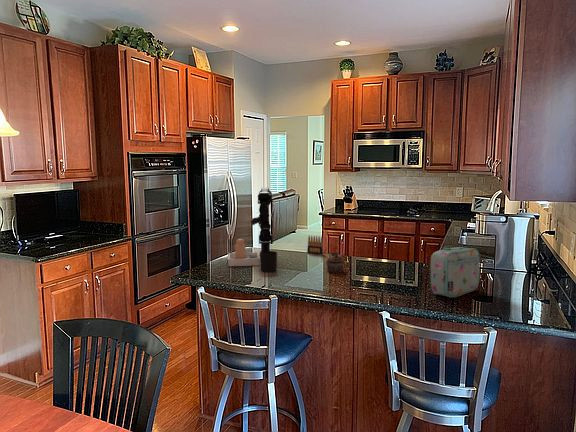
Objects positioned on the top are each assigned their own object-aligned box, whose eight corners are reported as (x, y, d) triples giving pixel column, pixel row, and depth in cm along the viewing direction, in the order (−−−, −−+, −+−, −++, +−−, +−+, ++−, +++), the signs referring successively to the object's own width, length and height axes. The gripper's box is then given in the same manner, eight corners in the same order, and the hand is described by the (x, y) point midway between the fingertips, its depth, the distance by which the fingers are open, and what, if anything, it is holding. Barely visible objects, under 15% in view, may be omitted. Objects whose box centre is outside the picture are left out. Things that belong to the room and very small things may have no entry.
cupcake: (346, 272, 236) (347, 253, 235) (331, 273, 233) (331, 255, 232) (338, 268, 245) (338, 250, 244) (323, 269, 242) (323, 251, 240)
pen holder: (276, 272, 235) (276, 254, 233) (259, 272, 235) (259, 254, 234) (277, 268, 244) (277, 251, 243) (260, 268, 244) (260, 250, 243)
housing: (228, 259, 267) (228, 253, 267) (258, 258, 269) (258, 252, 269) (228, 266, 249) (228, 259, 249) (259, 265, 252) (259, 258, 251)
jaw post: (238, 260, 261) (238, 238, 259) (245, 260, 259) (245, 239, 258) (235, 261, 257) (234, 239, 255) (241, 262, 255) (241, 240, 254)
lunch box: (447, 301, 185) (449, 252, 183) (426, 295, 193) (428, 248, 191) (481, 291, 201) (484, 245, 198) (461, 286, 209) (463, 241, 207)
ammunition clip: (323, 254, 283) (323, 236, 282) (322, 254, 282) (322, 236, 280) (308, 252, 288) (308, 234, 287) (307, 253, 287) (307, 235, 285)
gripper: (250, 211, 274) (250, 235, 276) (251, 214, 255) (252, 240, 257) (268, 211, 275) (268, 235, 277) (270, 214, 257) (270, 240, 259)
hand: (264, 238), depth 267 cm, fingers open, 9 cm apart
